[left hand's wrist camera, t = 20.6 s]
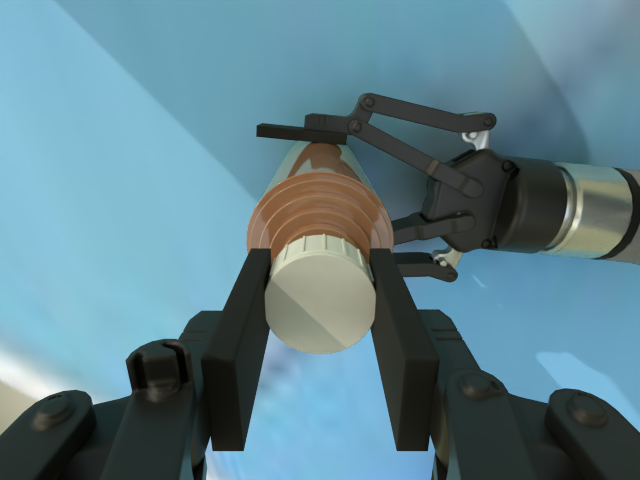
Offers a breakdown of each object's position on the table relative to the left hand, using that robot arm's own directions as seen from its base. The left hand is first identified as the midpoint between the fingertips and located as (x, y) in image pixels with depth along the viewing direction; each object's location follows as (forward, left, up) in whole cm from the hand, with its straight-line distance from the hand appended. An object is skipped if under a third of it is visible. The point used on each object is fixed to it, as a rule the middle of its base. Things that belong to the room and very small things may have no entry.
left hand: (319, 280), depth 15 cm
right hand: (-4, +2, -16) cm, 17 cm away
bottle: (0, 0, -22) cm, 22 cm away
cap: (0, 0, +2) cm, 2 cm away
